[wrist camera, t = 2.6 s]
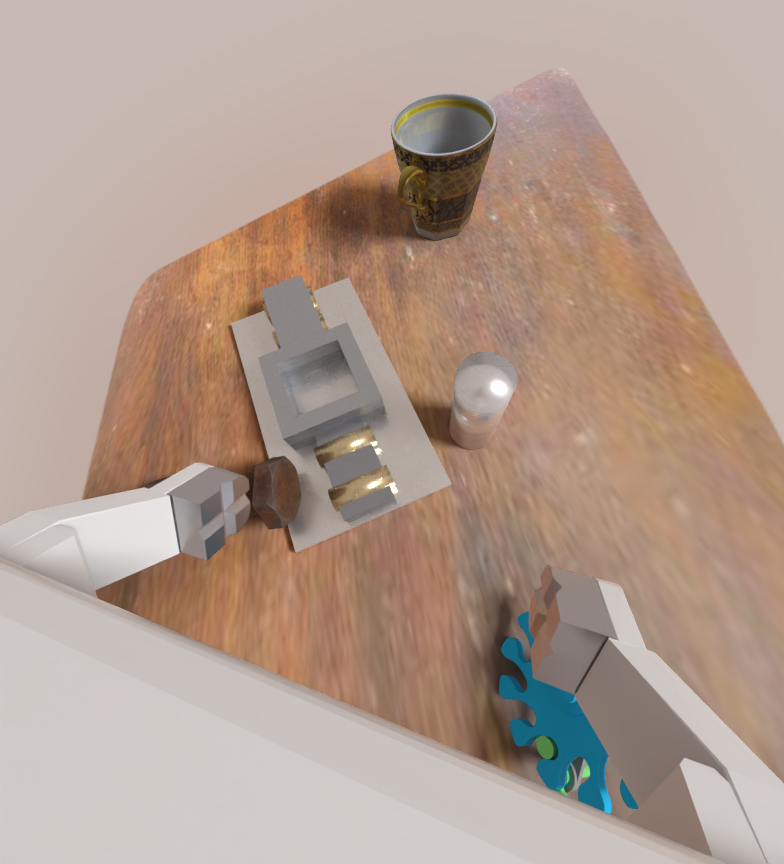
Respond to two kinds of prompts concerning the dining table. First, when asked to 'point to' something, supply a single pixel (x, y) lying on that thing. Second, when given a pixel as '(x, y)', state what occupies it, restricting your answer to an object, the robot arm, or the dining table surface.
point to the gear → (558, 733)
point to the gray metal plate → (334, 409)
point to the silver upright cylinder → (480, 398)
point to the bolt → (271, 492)
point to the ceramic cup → (442, 159)
